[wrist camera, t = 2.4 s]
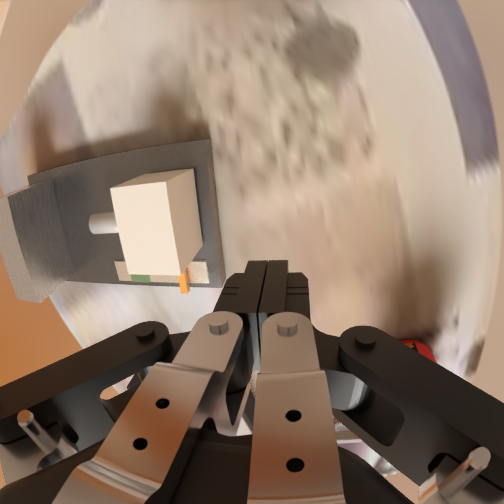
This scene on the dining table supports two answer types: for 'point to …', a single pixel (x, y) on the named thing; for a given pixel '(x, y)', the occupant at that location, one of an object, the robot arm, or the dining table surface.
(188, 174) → the block
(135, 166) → the gauge base
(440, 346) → the dining table surface
